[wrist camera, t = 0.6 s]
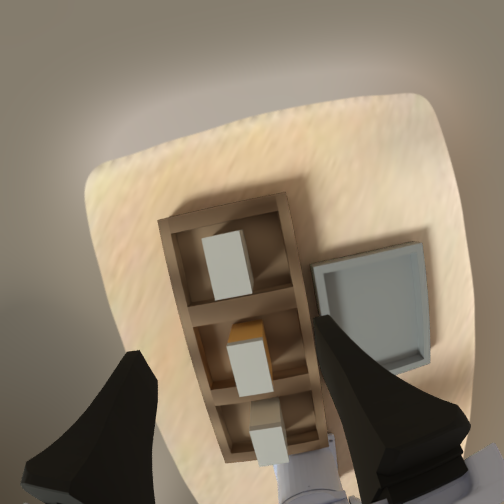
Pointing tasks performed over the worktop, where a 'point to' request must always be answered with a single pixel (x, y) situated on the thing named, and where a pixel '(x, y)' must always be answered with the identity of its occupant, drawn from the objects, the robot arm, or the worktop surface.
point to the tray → (379, 303)
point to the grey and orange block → (250, 358)
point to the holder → (244, 310)
